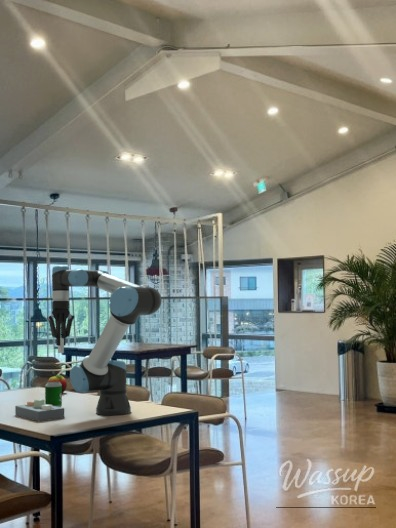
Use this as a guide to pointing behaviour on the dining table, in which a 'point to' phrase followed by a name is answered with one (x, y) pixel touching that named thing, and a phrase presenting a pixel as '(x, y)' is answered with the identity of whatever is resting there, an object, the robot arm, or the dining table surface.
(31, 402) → the brown egg
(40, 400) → the pale green egg
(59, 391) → the soda can
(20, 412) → the grey egg holder
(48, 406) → the white egg
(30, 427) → the dining table surface
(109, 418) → the dining table surface
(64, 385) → the fruit
